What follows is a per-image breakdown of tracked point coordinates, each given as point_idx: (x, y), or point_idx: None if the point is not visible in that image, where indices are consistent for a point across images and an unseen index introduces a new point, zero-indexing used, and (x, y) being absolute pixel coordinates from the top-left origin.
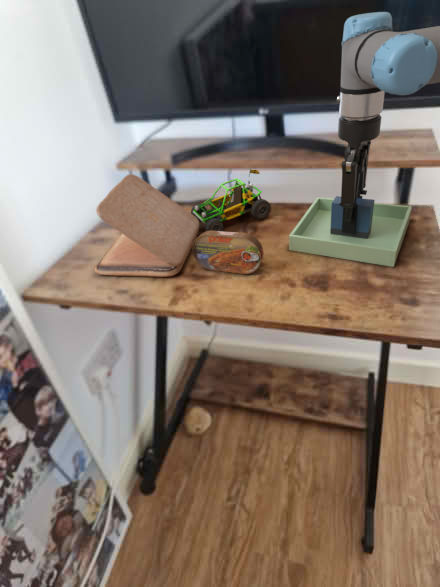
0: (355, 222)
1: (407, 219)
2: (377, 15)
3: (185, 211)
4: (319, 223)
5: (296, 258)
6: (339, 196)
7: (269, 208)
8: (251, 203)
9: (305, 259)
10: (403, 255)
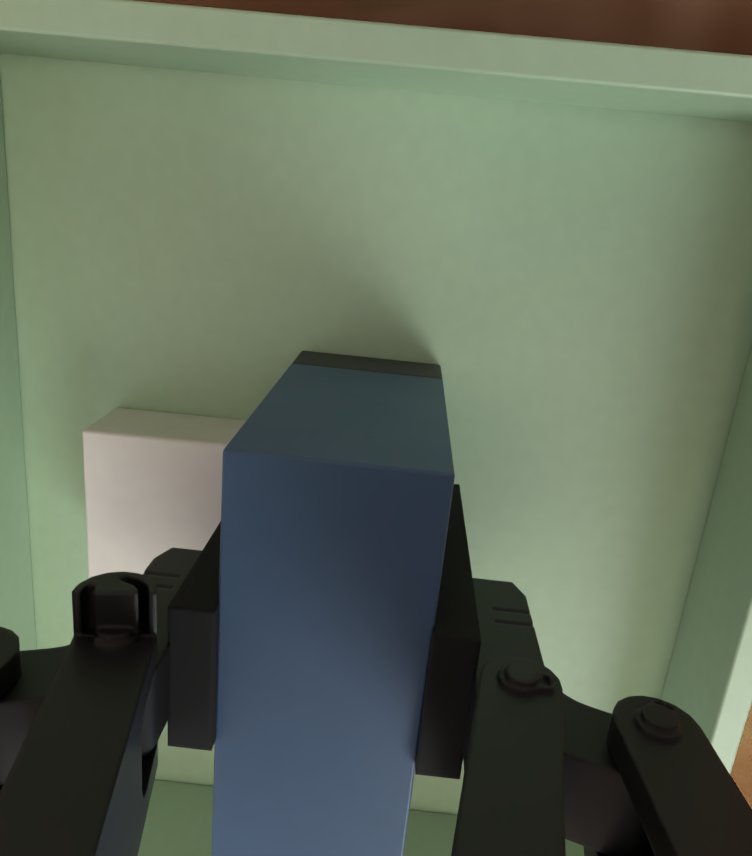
0: (460, 533)
1: (209, 8)
2: None
3: None
4: None
5: (739, 780)
6: (215, 827)
7: None
8: None
9: (749, 729)
10: (628, 30)
